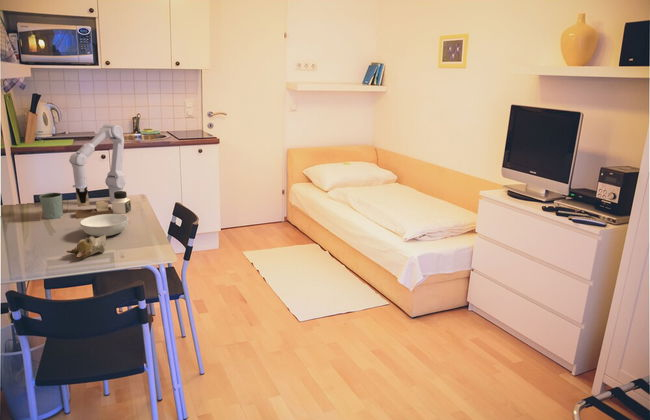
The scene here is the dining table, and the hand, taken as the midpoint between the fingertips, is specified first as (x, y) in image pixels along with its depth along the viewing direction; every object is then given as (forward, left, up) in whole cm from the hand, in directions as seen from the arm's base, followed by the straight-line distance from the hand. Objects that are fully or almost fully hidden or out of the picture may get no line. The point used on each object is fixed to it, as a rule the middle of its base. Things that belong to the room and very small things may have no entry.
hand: (83, 201), depth 271 cm
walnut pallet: (+9, +4, -6) cm, 11 cm away
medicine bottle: (+10, +18, -6) cm, 21 cm away
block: (+9, +8, -5) cm, 13 cm away
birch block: (0, 0, -2) cm, 2 cm away
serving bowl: (+41, +7, -6) cm, 42 cm away
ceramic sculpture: (+67, -1, -6) cm, 67 cm away
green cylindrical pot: (+4, -15, -6) cm, 16 cm away
